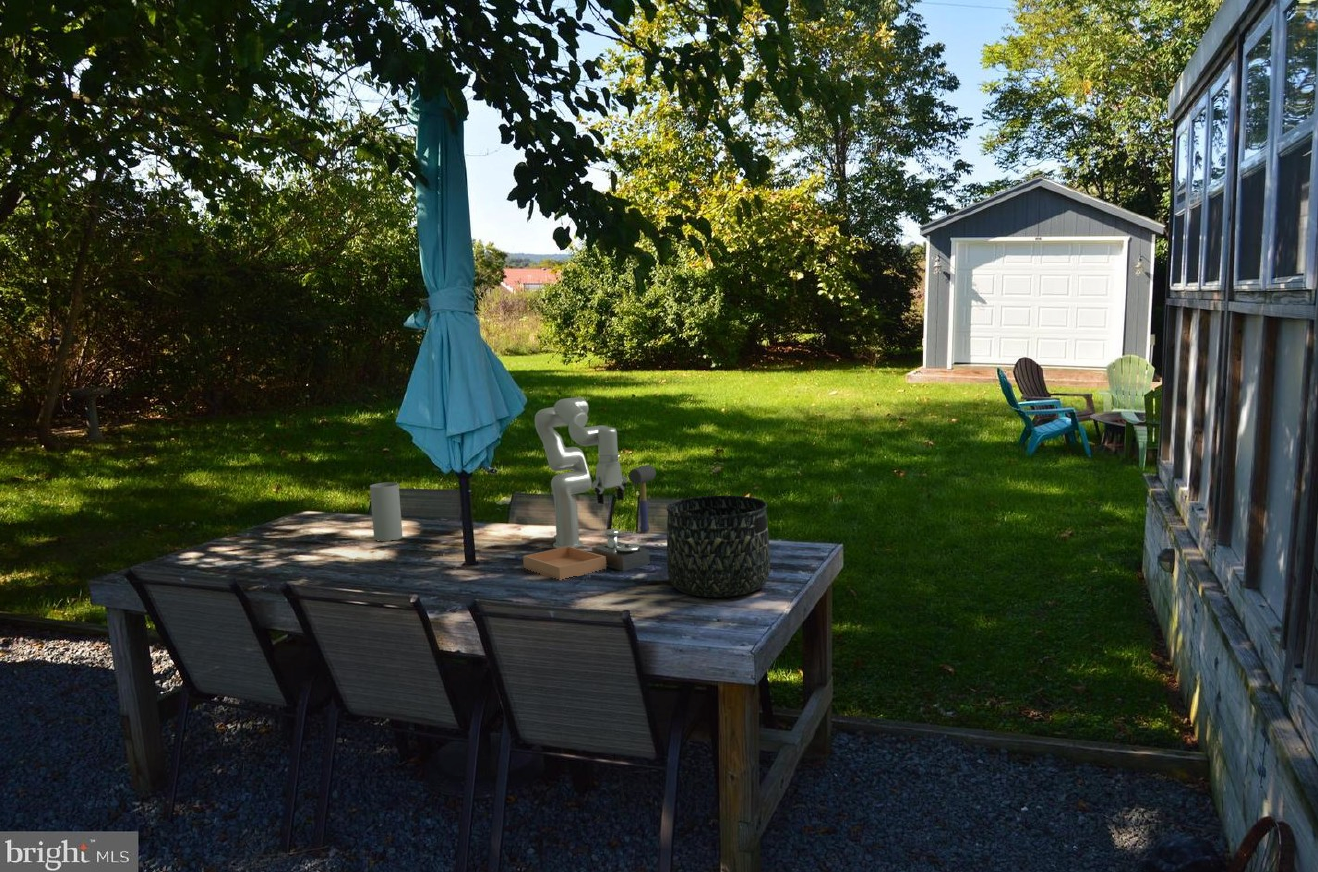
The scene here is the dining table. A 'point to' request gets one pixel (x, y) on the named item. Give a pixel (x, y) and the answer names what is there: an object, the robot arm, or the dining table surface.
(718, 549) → the basket
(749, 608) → the dining table surface
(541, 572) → the tray
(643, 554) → the pulley bracket
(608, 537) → the lock pin
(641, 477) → the rubber mallet
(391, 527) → the cylinder vase
